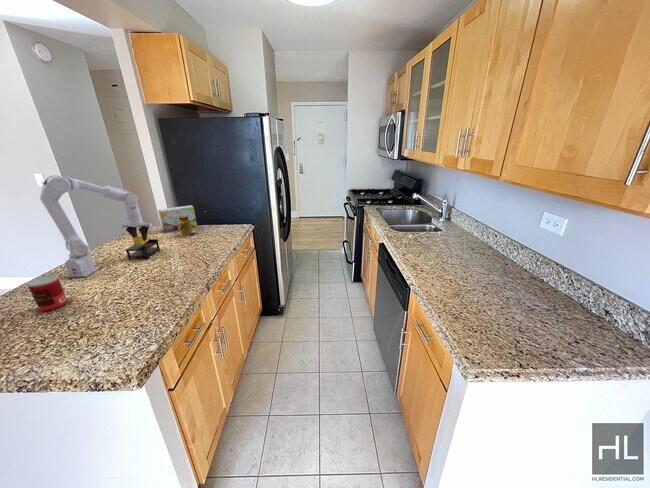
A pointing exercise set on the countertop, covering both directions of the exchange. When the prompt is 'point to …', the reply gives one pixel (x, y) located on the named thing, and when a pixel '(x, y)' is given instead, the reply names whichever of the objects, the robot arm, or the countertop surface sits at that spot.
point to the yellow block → (139, 240)
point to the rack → (143, 249)
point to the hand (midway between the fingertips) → (140, 240)
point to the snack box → (176, 217)
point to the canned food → (47, 292)
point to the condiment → (185, 226)
